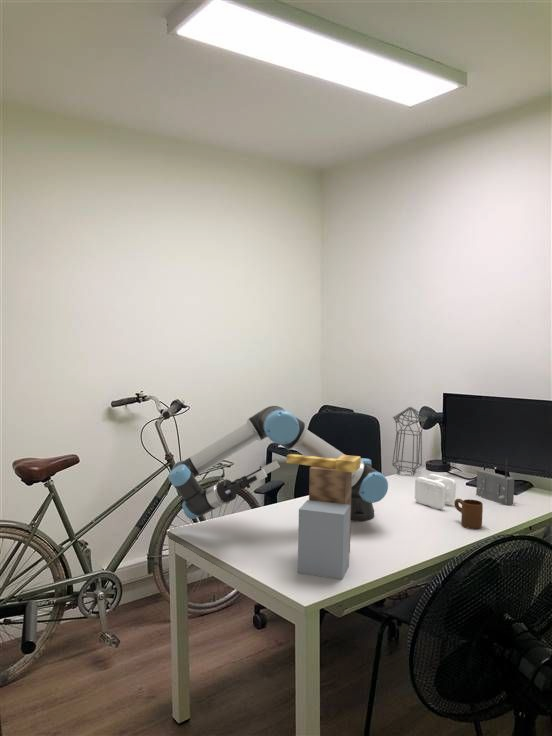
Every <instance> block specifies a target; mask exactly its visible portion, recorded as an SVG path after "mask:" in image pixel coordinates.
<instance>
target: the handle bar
mask: <svg viewBox="0 0 552 736" xmlns="http://www.w3.org/2000/svg"><path fill="white" fill-rule="evenodd" d="M361 457H362V456H359V455H349V454H348V455H347V454H345V455H342V456H341V457H339V458H338V459H334V458H324V457H315V456H306V455H303V454H297V453H289V454H287V455H286V463H287V464H291V465H292V464H294V465H302V466H309V467H311V466H318V467H327V468H336V471H344V472H353V473H354V472H355V471H356V470H358V469H359V468H360V464H361Z"/></svg>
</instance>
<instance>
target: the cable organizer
mask: <svg viewBox="0 0 552 736" xmlns="http://www.w3.org/2000/svg"><path fill="white" fill-rule="evenodd" d="M456 491H457V483H456V481H455V480H454V479H453V478H450V477H445V476H443V475H438V474H434V473H430V474H428V475H427V478H426V477H423V476H419V477H416V478H415V479H414V499H415V501H416V502H417V503H419V504H420V505H423V506H429V507H431V508H432V509H434V510H435V509H436V510H440V509H444V508H445V506H451V505H454V502H455V500H456V496H457V495H456V493H457V492H456Z"/></svg>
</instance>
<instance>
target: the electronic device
mask: <svg viewBox="0 0 552 736" xmlns="http://www.w3.org/2000/svg"><path fill="white" fill-rule="evenodd" d="M504 471H505V472H504V473H505V474H504V475H503V474H500V473H496V472H492V471H489V470H485V469H479V470H476V489H475V490H476V493H475V495H476V496H477V495H478V497H480V496H481V497H480V498H483V499H487V500H490V501H492V500H493V502H495V501H496V503H499V504H502V505H504V506H512V505H514V500H515V499H514V495H515V492H514V491H515V478H513V477H510V476H508V458H506V459H505V470H504Z"/></svg>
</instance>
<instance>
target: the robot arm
mask: <svg viewBox="0 0 552 736" xmlns="http://www.w3.org/2000/svg"><path fill="white" fill-rule="evenodd" d="M266 438H268V439H269V440H270V441H271V442H273V443H275V444H277V445H280V446H282V447H283V448H284V449H286V450H288V451H290V450H295V451H297V452H298V453H299V454H300V455H306V456H315V457H324V458H334V459H338V458H339V457H341V456H342V455H346V454H344V453H343V452H342V451H340V450H339V449H337V448H336V447H335V446H333V445H331V444H330V443H328V442H327V441H325V440H324V439H323V438H320V437H319V436H318V435H316V434H315V433H313V432H311V431H310V430H309V429H307V426H306V423H305V422H304V421H302V420H301V419H299V418H298V417H297V416H295V415H294V413H292V412H290V411H289V410H285V409H284V408H283V407H281V406H277V405H270V406H267V407H265V408H263V409H262V410H260V411H258V412H257V413H255V414H254V415H252V416H251V417H248V418H247V420H246V422H245V423H244V424H242V425H241V426H239V427H238V428H236V429H234V430H233V431H230V432H229V433H228V434H226V435H224V436H223V437H221V438H220V439H217V440H216V441H214V442H213V443H211V444H209V445H208V446H206V447H205V448H203V449H201V450H200V451H198V452H196V453H195V454H193V455H192V456H190V457H188V458H186V459H185V460H179V461H177V462H175V464H174V465H173V467H172V470H170V471H169V473H168V474H167V478H168V480H169V481H170V483H171V485H172V486H173V487H174V488H175V489H176V491H177V492H178V494H179V496H181V499H183V503H182V504H181V505H182V510H183V513H184V515H185V517H187V518H188V519H191V520H194V519H197V518H200V517H203V516H204V515H206V514H208V513H209V512H211V511H214V510H215V509H217V508H220V509H221V508H222V507H223V505H226V504H228V503H230V502H232V501H234V500H236V499H237V494H238V493H239V492H240V491H242V490H244V489H246V488H247V489H249V488H251V485H254V484H256V483H257V482H259V481H261V480H263V479H265V478H267V477H268V474H269V473H272V472H274V471H275V470H278V469H279V468H281V466H280V464H279V462H278V461H277V460H274V461H272V462H271V463H270V462H269V463H268V464H266V465H264V466H263V467H262V466H261V465H260V466H259V468H258V469H257V470H255V471H252V472H251V473H249V474H248V475H244V476H242V477H239V478H236V479H235V480H233V481H231V480H229V479H228V478H227V479H224V480H222V481H220V482H218V483H216V484H213V485H212V486H210V487H207V488H206V489H203V487H202V486H201V485H200V484H199V481H197V479H196V478H197V477H199V476H200V475H201V474H203V473H204V472H206V471H207V470H210V469H211V468H213V467H215V466H216V465H217V464H220V463H222V462H223V461H224V460H226V459H228V458H230V457H231V456H232V455H234V454H236V453H237V452H239V451H241V450H243V449H244V448H246V447H248V446H249V445H250V444H252V443H254V442H256V441H262V440H264V439H266ZM372 465H373V464H372V460H371V459H370V458H364V457H362V458H361V464H360V468H359V469H358V470H356V471H355V472H354V473H353V472H352V487H351V521H354V522H355V521H356V522H357V521H358V522H362V521H368V520H372V519H373V518H375V508H374V503H378V502H380V501H381V500H382V499H383V500H384V498H385V497H386V495H387V493H388V490H389V482H388V479H387V478H386V476H385V475H384V474H383V473H382V472H379V471H378V470H376V469H375V468H373V467H372Z"/></svg>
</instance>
